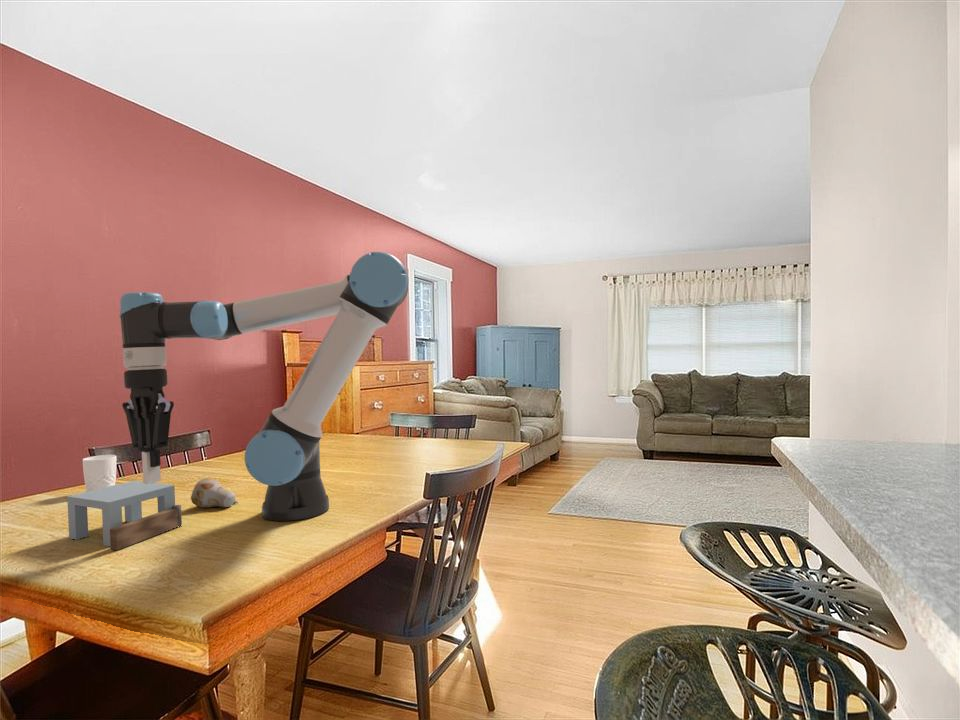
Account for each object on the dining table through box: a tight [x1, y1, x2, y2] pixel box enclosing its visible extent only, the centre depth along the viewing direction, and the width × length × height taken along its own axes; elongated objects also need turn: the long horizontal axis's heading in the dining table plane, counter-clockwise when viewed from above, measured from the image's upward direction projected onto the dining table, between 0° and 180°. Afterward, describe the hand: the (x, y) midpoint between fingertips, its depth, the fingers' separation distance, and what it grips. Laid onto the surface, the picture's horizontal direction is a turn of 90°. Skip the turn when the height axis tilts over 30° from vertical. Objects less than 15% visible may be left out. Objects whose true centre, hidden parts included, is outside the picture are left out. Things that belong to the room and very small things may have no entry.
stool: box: [66, 480, 176, 548], centre depth 116 cm, size 14×14×9 cm
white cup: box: [82, 454, 118, 492], centre depth 151 cm, size 8×8×10 cm
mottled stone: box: [190, 477, 239, 508], centre depth 134 cm, size 8×10×10 cm
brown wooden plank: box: [110, 504, 183, 551], centre depth 112 cm, size 15×2×5 cm, turn 162°
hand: (152, 482), depth 110 cm, fingers closed
